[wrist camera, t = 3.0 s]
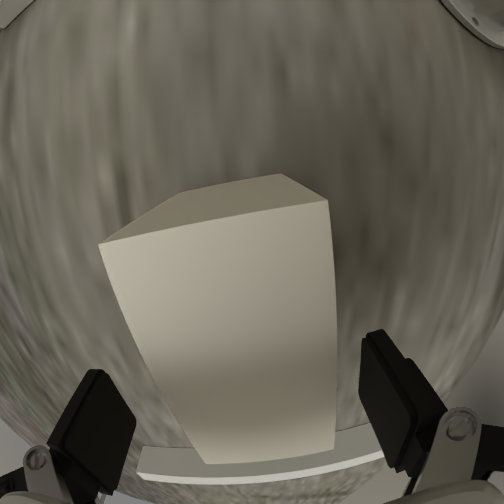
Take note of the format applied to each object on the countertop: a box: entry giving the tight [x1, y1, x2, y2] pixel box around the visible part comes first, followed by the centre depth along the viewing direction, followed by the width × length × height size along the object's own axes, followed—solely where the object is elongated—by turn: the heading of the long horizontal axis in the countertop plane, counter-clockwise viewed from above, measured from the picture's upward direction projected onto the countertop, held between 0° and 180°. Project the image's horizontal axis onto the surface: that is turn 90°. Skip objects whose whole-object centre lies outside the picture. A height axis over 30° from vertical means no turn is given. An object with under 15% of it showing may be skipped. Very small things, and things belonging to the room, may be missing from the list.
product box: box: [98, 173, 337, 464], centre depth 13 cm, size 6×11×10 cm, turn 10°
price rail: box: [136, 423, 385, 484], centre depth 23 cm, size 30×2×4 cm, turn 100°
